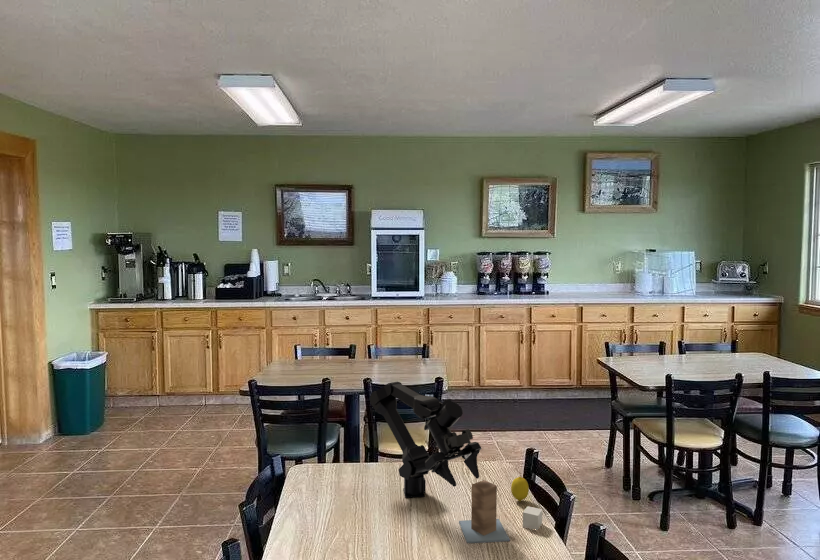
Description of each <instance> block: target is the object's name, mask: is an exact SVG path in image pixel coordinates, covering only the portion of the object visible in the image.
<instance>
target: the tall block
mask: <svg viewBox="0 0 820 560" xmlns="http://www.w3.org/2000/svg"><path fill="white" fill-rule="evenodd" d="M497 487H498V486H497V485H496V484H495V483H492V482H489V481H487V480H485V479H484V480H480V481H477V482H474V483H472V484H471V514H470V515H471V519H470V520H471V529H473V530H474V531H476V532H478V533H480V534H482V535H487V534H489V533H491V532H493V531H496V519H497V510H498V509H497V504H498V503H497V502H498V501H497V499H498V498H497V493H498V490H497V489H498V488H497Z"/></svg>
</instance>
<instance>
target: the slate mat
mask: <svg viewBox="0 0 820 560" xmlns="http://www.w3.org/2000/svg"><path fill="white" fill-rule="evenodd" d="M458 524H459V527H460V529H461V531H462V533H463V537H464V540H465V542H466V544H478V543H479V544H480V543H501V542H510V541H511V539H510V537H509V535H508V533H507V531H506V530H505V527H504V526H503V524H502V522H501V521H500V519H499V518H496V531H493V532H491V533H489V534H487V535H482V534H480V533H478V532H476V531H474V530H473V529H471V519H468V520H464V519H463V520H458Z"/></svg>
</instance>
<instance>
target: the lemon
mask: <svg viewBox="0 0 820 560" xmlns="http://www.w3.org/2000/svg"><path fill="white" fill-rule="evenodd" d="M529 489H530V487H529V483H528V481H527V479H525V478H524V477H522V476H518V477H515V478H514V479H513V480H512V483H511V485H510V492H511V496H512V497H513V499H515V500H516V501H518V502H521V501H523V500H525V499H526V498H527V497H528V496H529V492H530V491H529Z"/></svg>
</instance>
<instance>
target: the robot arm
mask: <svg viewBox="0 0 820 560" xmlns="http://www.w3.org/2000/svg"><path fill="white" fill-rule="evenodd" d="M398 400H399V401H400V402H402V403H404V404H406V405H407V406H408V407H411V409H412V410H413V413H414V414H415V415H416V416H417V417H418V418H419V419H421V420H424V419H429V418H431V419H429V420H426V421H425V424H424V426H423V429H424V431H428V430H429V432H430V434H431V436H432V438H433V439H434V443H433V446H434V447H435V448H438V449H439V451H438V452H436V453H432V454H431V455H430V454H429V452H428V451H427V449H426V447H425V446H424V445H423V444H421V445H418V444H416V442H415V441H414V438H413V436H412V435H411V432H409V430H408V428H407V426H406V424H405V423H404V420H403V419H402V417H401V415H400V413H399V411H398V410H397V403H398ZM369 403H370V404H371V407H372V408H373V409H374V410H375V412H376V413H377V414H379V415H381V416H382V417H383V418H384V419H385V422H386V423H387V425H388V427H389V429H390V430H391V432H392V433H391V434H392V435H393V437H394V438H395V440H396V442H397V444H398V446H399V448H400V450H401V452H402V459H401V460H402V465H401V466H400V467H399V468H398V474H399V476H400V477H402V478H403V488H402V489H403V490H402V491H403V495H404V497H405V498H406V499H407V498H424V497H425V496H426V494H425V493H426V490H427V489H426V485H427V483H426V482H427V481H426V478H425V475H429V472H430V471H431V473H432V474H433V473H435V474H437V475H438V476H439V477H441V478H443V479H444V480H445V481H446V482H447V483H448V484H450V485H451V486H452V487H457V482H456V479H455V478H454V475H453V473H452V471H451V469H450V467H449V461H452V460H454V459H458V458H462V459H463V463H464V465H465V466H466V467H467V468H468V469H469V471H470V472H471V474H472V475H473V476H474V477H475V479H476V480H478V479H480V473H479V466H478V455H479V454H480V451H481V450H482V449H483V448H482V446H481V445H480V443H479V442H478V441H474V442H473V441H472V442H471V440H473V438H474V436H473V433H472V431H471V429H470V428H469V429H468V428H467V429H463V430H462V431H461V434H457V433H456V432H455V431H451V429H450V428H451V427H452V426H454V425H455V423H457V422H458V420H459V419H460V418H461V417H462V416H463V409H462V407H461V406H460V405H459V404H458V403H457V402H456V401H455V402H454V401H452V399H451V398H447V399H444V400H443V403H442V402H441V401H440V400H439V399H438V398H436V397H434V396H430V395H422V394H420V393H418V392H416V391H414V390H413V389H411V388H409V387H407V386H406V385H404V384H402V382H401V381H392V382H387V383H386V384H385V385H384V386H383V387H381V388H379V389H377V390H375V391H372V392H371V394H370V395H369Z"/></svg>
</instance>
